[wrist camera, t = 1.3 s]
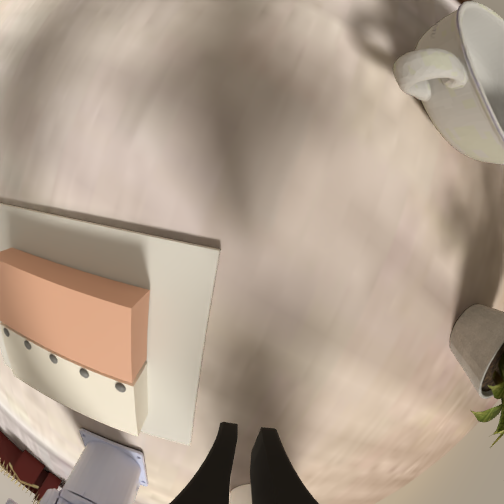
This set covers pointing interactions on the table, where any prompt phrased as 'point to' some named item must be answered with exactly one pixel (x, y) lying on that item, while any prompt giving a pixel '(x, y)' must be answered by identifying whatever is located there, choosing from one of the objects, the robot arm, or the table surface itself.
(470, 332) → the house plant
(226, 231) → the table surface
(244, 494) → the cylindrical container
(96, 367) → the stub
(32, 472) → the toy houses
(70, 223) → the mat
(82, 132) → the table surface
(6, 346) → the ticket book
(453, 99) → the teacup
